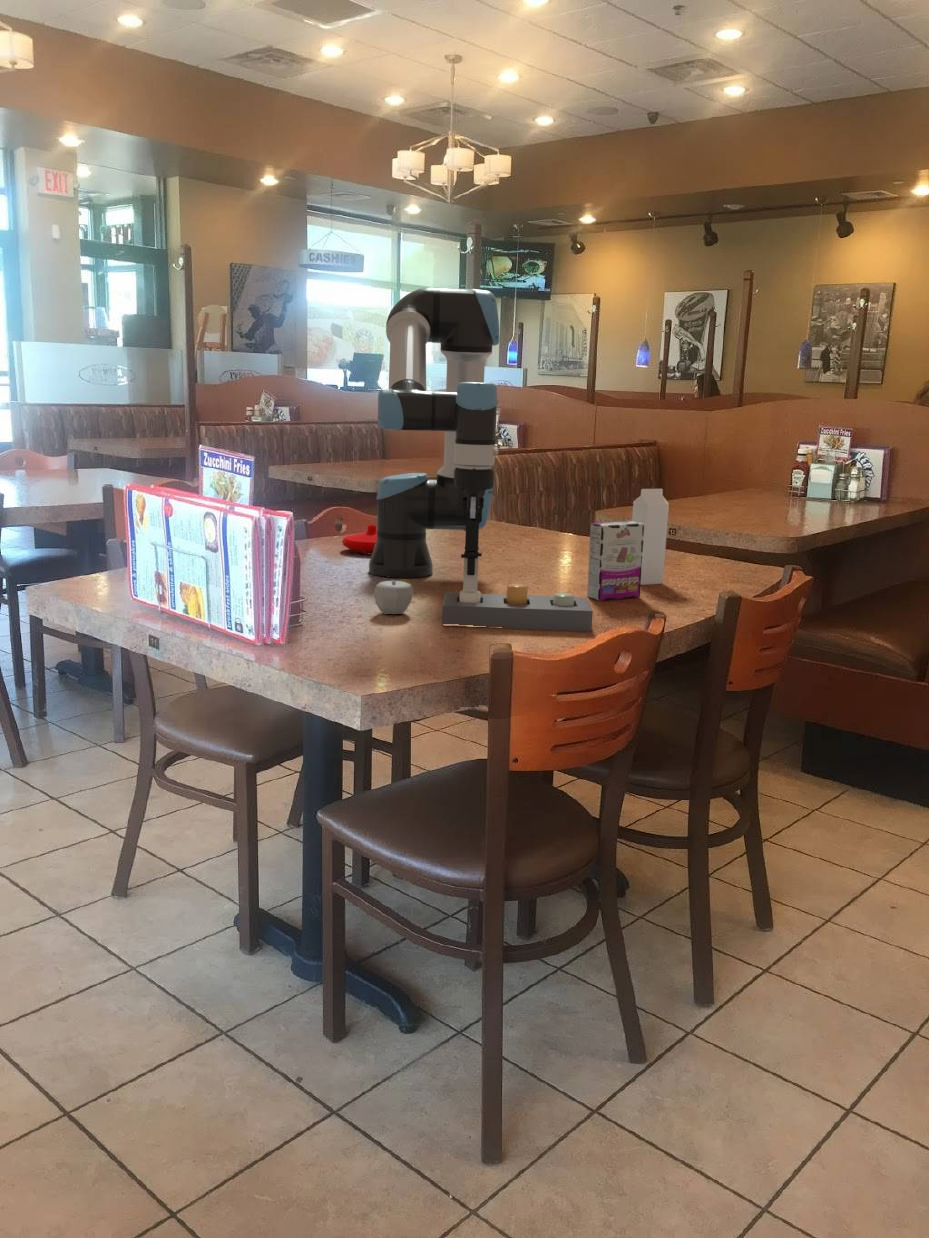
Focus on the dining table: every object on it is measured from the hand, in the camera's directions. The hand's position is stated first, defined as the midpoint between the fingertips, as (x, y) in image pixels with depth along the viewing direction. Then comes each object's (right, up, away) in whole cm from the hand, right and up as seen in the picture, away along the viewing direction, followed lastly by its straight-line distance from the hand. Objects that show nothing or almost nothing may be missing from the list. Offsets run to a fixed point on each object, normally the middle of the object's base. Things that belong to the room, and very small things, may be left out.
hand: (470, 590), depth 192 cm
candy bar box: (+31, -1, +26) cm, 41 cm away
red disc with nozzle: (-26, +12, +74) cm, 79 cm away
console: (+9, -6, +1) cm, 11 cm away
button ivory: (0, -5, +1) cm, 5 cm away
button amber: (+9, -4, +1) cm, 10 cm away
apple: (-15, -5, +5) cm, 16 cm away
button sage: (+18, -5, +1) cm, 19 cm away
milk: (+42, +3, +45) cm, 61 cm away
